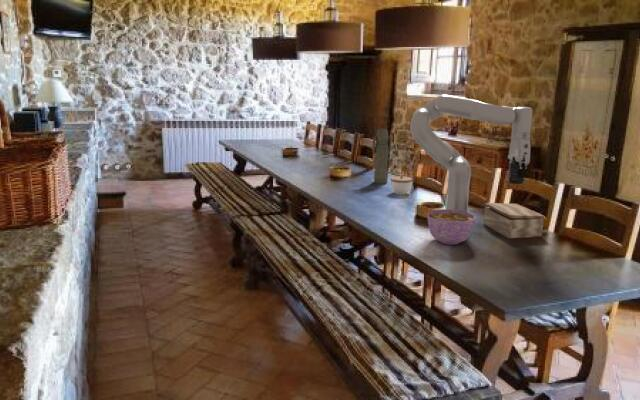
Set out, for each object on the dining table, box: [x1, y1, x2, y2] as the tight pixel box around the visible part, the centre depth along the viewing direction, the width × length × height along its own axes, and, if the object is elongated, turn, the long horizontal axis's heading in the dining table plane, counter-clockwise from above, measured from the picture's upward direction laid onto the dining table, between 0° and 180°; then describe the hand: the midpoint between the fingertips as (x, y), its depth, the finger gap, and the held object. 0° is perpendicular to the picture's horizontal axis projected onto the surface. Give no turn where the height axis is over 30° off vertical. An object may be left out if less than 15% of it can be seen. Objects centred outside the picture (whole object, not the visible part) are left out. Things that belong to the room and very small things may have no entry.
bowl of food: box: [426, 208, 477, 245], centre depth 212 cm, size 20×20×12 cm
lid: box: [484, 202, 545, 219], centre depth 227 cm, size 16×22×1 cm
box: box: [483, 207, 544, 239], centre depth 229 cm, size 16×22×8 cm
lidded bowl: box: [390, 174, 413, 196], centre depth 300 cm, size 13×13×11 cm
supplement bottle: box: [507, 156, 526, 185], centre depth 223 cm, size 7×7×12 cm
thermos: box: [372, 128, 392, 185], centre depth 327 cm, size 9×12×35 cm
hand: (516, 175), depth 223 cm, fingers closed on supplement bottle, 6 cm apart
